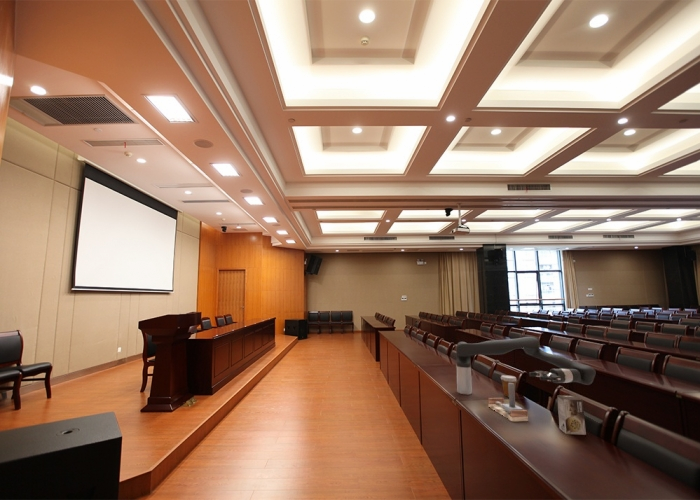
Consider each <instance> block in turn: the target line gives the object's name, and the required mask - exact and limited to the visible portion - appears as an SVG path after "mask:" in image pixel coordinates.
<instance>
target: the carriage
mask: <svg viewBox="0 0 700 500" xmlns="http://www.w3.org/2000/svg"><path fill="white" fill-rule="evenodd" d="M508 390H509V397H508V403H504V404H502V407H503V408H504V409H505V410H506V411H507V412H509V413H510V410H524V408H522V407H520V406H519V405H517V404H516V388H515V389H514V383H508Z"/></svg>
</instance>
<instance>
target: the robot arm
mask: <svg viewBox="0 0 700 500" xmlns="http://www.w3.org/2000/svg"><path fill="white" fill-rule="evenodd" d="M540 344H541V343H540V340H539V339H538V338H537V337H534V336H523V337H519V338H508V339H493V340H486V341H481V342H478V343H477V342H476V343H467V342H465V341H459V342H457V344H456V345H455V351H456V353H455V354H456V355H455V356H456V358H455V362H456V392H457V393H458V394H460V395H468V396H469V395H472V390H473V389H472V363H471V362H472V361H471V360H472V359H471V357H472V356H477V355H478V356H479V355H483V356H492V355H493V356H497V355H498V356H499V355H505V354H507V353H509V352H512V351H513V350H518V349H523V352H524V353H525V354H526V355H529V356H531V357H533V358H536V359H539V360H542V361H544V362H546V363H549V364H552V365H554V366H555V367H558V368H551V369H549V370H548V371H545V370H533V371H531V372H528V375H529V377H537V378H539V380H540V381H546V382H551V383H554V384H565V383H566V384H567V383H578V384H582V385H586V386H589V385H591V384H592V383H593V382H594V379H595V377H596V370H595V369H594V367H592V366H590V365H586V364H583V363H580V362H579V363H578V362H576V361H573V360H571V359H569V358H568V357H565V356H562V355H559V354H553V353H549V352H546V351H544V350H543V349H541V348H540V347H541V346H540Z"/></svg>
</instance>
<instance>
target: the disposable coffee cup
mask: <svg viewBox="0 0 700 500" xmlns="http://www.w3.org/2000/svg"><path fill="white" fill-rule="evenodd" d="M500 379H501V383H502V389H503V395H504V396H505V397H508V398H509V390H508V383H514V389H515V390H516V385H517V377H516V376H514V375H506V374H503V375H502V374H501V376H500Z"/></svg>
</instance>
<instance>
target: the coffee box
mask: <svg viewBox="0 0 700 500" xmlns="http://www.w3.org/2000/svg"><path fill="white" fill-rule="evenodd" d="M556 398H557V411H558V413H557V414H558V424H559V425H558V427H559V430H561V431H562V432H563V433H564V434H566V435H583V436H585V435H586V436H587V432H586V422H585V421H586V420H585V411H584V400H583V399H582V398H580V397H579V396H576V395H566V394H565V395H563V394H561V395H560V394H559V395H558V394H557V396H556Z"/></svg>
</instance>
